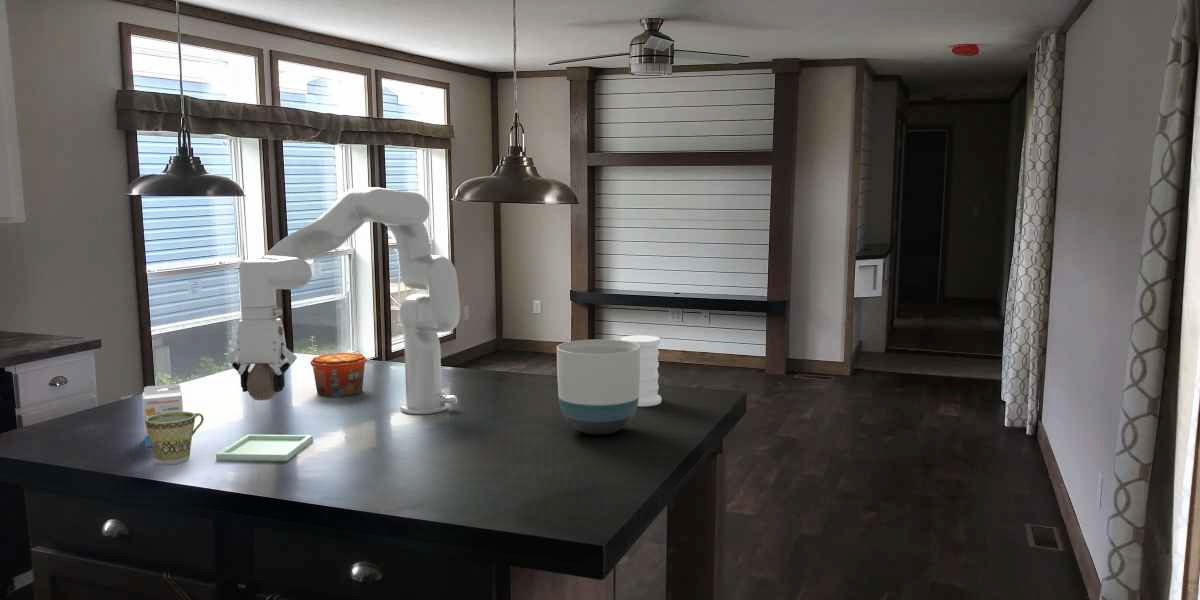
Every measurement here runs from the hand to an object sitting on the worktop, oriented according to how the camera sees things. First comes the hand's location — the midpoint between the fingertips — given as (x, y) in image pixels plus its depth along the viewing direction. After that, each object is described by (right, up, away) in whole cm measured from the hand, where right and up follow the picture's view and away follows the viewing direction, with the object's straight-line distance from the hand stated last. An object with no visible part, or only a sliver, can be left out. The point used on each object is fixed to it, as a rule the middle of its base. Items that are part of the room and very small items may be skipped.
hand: (263, 390), depth 208 cm
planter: (+77, -12, +16) cm, 80 cm away
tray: (0, -14, +2) cm, 14 cm away
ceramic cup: (-17, -15, -4) cm, 23 cm away
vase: (0, -2, 0) cm, 2 cm away
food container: (0, -7, +60) cm, 61 cm away
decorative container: (+89, -8, +48) cm, 101 cm away
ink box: (-28, -13, +10) cm, 32 cm away
